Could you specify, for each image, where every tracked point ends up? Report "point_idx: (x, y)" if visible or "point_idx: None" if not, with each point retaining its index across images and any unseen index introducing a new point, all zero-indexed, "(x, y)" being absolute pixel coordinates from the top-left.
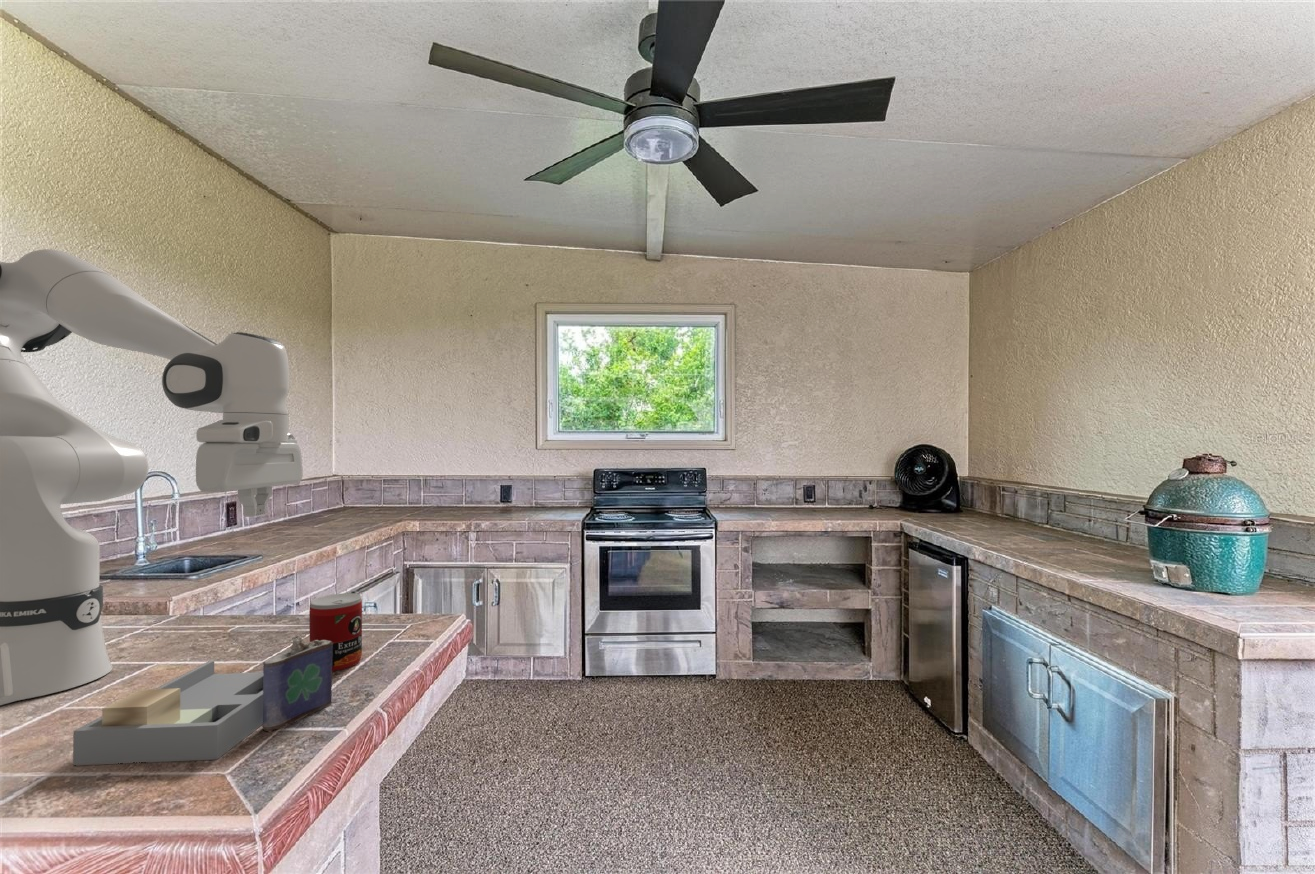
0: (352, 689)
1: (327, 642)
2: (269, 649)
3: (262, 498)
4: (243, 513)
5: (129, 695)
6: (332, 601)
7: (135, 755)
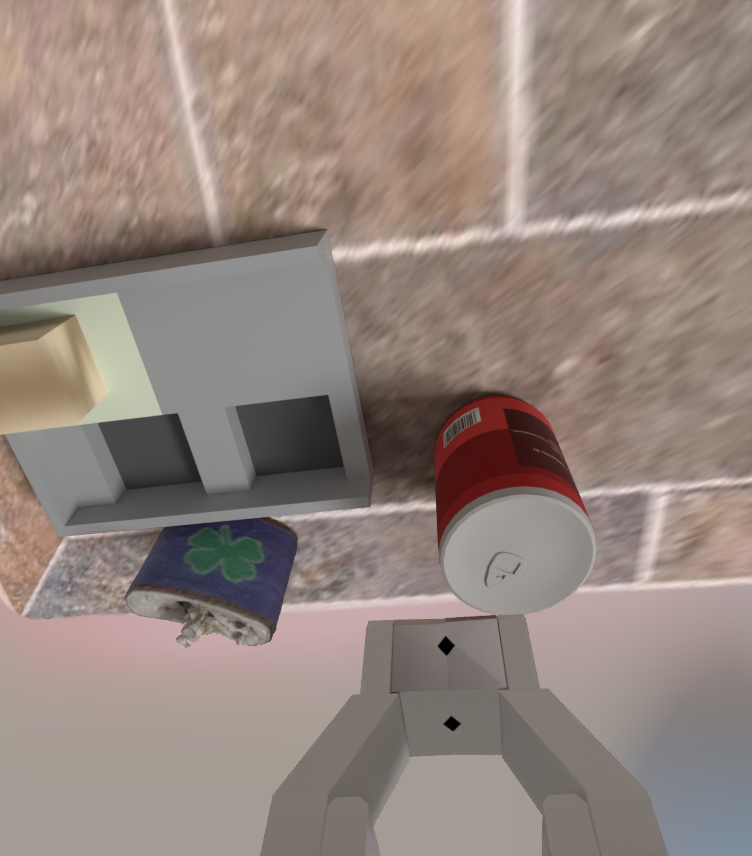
0: (353, 550)
1: (257, 640)
2: (631, 162)
3: (541, 788)
4: (367, 633)
5: (10, 347)
6: (511, 547)
7: None
